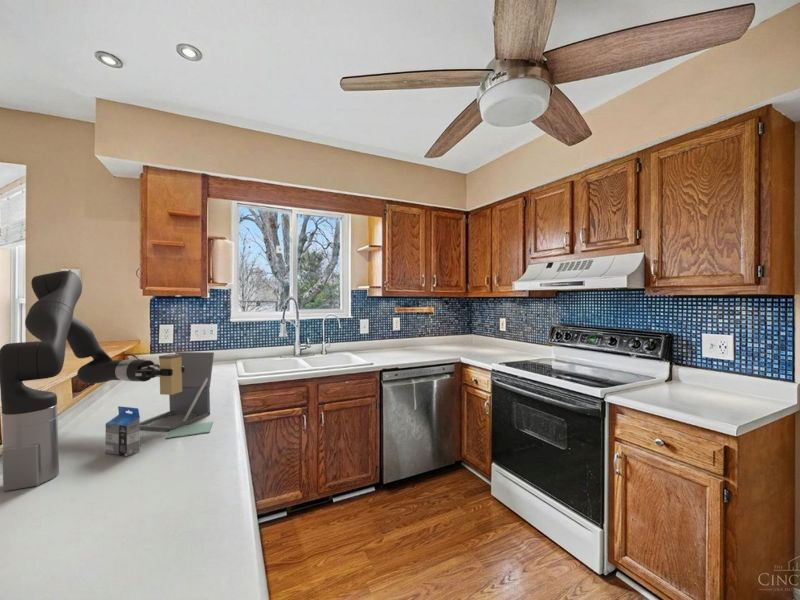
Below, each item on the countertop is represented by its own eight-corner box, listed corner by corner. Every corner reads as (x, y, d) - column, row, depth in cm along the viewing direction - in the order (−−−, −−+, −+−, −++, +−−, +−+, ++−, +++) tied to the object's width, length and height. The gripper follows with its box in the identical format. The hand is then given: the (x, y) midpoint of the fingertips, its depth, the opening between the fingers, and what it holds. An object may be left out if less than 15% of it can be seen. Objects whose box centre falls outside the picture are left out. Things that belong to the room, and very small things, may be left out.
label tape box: (104, 453, 100) (103, 409, 100) (119, 447, 103) (118, 405, 103) (126, 457, 97) (125, 412, 97) (141, 451, 101) (140, 407, 101)
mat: (209, 432, 114) (209, 431, 114) (165, 439, 109) (165, 437, 109) (213, 422, 123) (213, 421, 123) (172, 428, 118) (172, 427, 118)
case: (173, 431, 116) (171, 361, 116) (131, 428, 119) (129, 360, 119) (215, 411, 135) (214, 352, 135) (178, 410, 138) (176, 351, 138)
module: (171, 394, 118) (170, 355, 118) (159, 394, 119) (158, 355, 119) (182, 391, 123) (181, 353, 123) (171, 390, 123) (170, 353, 123)
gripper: (115, 363, 116) (159, 363, 113) (153, 356, 130) (193, 356, 127) (115, 386, 116) (160, 387, 113) (153, 376, 130) (194, 377, 127)
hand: (177, 370), depth 120 cm, fingers closed on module, 4 cm apart
